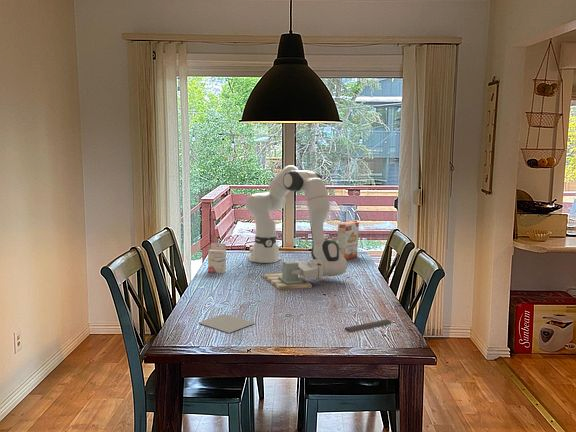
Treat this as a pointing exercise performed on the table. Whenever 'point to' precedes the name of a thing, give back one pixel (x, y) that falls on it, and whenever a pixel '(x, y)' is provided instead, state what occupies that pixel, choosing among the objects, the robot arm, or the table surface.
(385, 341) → the table surface
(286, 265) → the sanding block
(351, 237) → the cracker box
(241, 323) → the paper stack
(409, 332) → the table surface
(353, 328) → the half round rod
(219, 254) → the ink cartridge box
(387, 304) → the table surface
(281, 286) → the birch board
